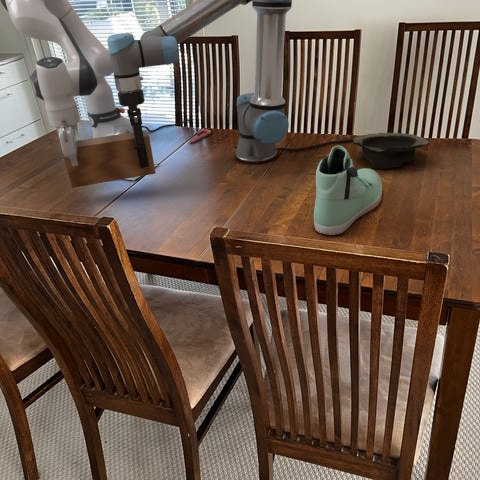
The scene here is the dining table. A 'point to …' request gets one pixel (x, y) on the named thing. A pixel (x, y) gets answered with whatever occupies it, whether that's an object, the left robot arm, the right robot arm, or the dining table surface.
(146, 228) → the dining table surface
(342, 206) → the sneaker
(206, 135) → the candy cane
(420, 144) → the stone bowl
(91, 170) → the box
